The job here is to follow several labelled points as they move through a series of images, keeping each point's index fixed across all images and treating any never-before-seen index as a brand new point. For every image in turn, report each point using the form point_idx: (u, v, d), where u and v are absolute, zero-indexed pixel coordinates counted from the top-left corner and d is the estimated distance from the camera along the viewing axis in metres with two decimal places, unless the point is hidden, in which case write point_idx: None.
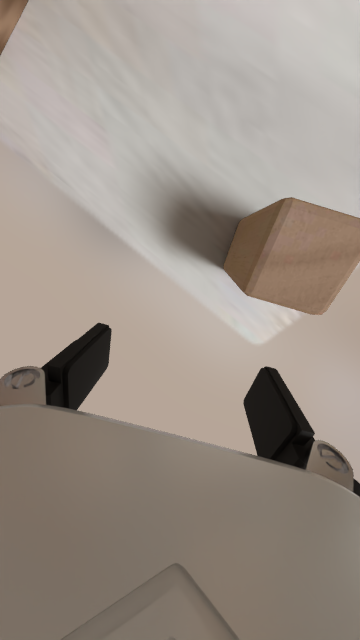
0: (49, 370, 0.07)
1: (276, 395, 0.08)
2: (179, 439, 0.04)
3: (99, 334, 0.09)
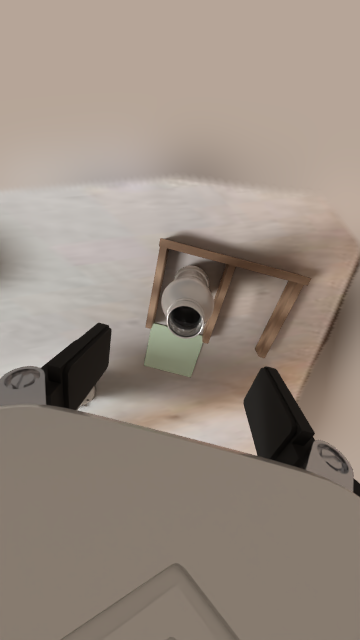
0: (49, 370, 0.07)
1: (276, 395, 0.08)
2: (179, 439, 0.04)
3: (99, 334, 0.09)
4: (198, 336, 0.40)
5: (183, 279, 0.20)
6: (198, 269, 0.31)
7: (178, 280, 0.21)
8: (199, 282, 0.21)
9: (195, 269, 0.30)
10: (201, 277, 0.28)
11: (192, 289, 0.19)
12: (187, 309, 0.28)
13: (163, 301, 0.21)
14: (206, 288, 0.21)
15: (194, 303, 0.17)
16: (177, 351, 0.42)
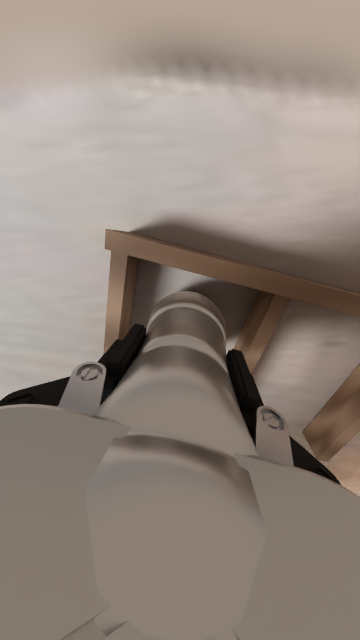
0: (108, 365, 0.08)
1: (235, 371, 0.09)
2: None
3: (139, 333, 0.10)
4: None
5: (105, 519, 0.03)
6: (203, 304, 0.13)
7: None
8: (226, 537, 0.03)
9: (196, 307, 0.12)
10: (212, 336, 0.10)
11: None
12: None
13: None
14: None
15: None
16: None
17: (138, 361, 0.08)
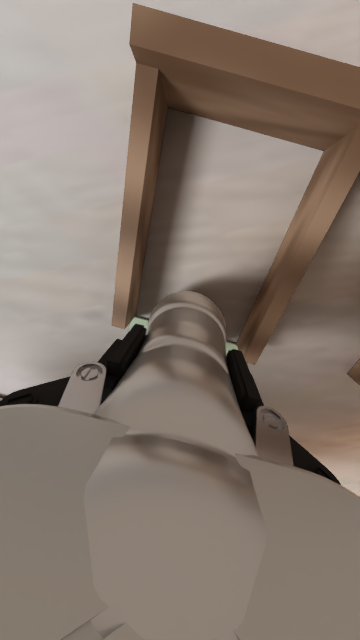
0: (108, 365, 0.08)
1: (235, 371, 0.09)
2: None
3: (139, 334, 0.10)
4: (228, 346, 0.19)
5: (104, 518, 0.03)
6: (203, 304, 0.13)
7: None
8: (226, 536, 0.03)
9: (196, 307, 0.12)
10: (212, 336, 0.10)
11: None
12: None
13: None
14: None
15: None
16: None
17: (138, 361, 0.08)
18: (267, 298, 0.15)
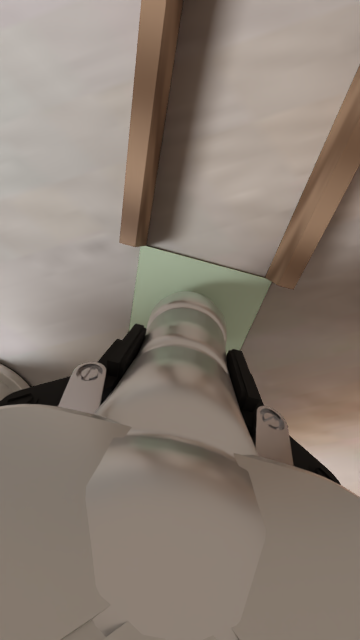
0: (108, 365, 0.08)
1: (235, 371, 0.09)
2: None
3: (139, 334, 0.10)
4: (256, 280, 0.16)
5: (104, 519, 0.03)
6: (203, 304, 0.13)
7: None
8: (225, 537, 0.03)
9: (196, 307, 0.12)
10: (212, 336, 0.10)
11: None
12: None
13: None
14: None
15: None
16: None
17: (138, 361, 0.08)
18: (313, 197, 0.12)
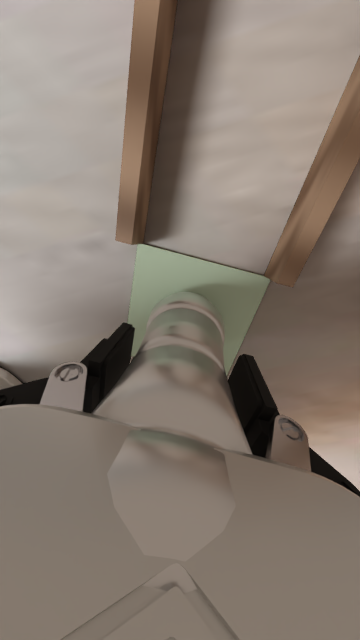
0: (90, 365, 0.07)
1: (248, 378, 0.09)
2: None
3: (126, 333, 0.10)
4: (254, 278, 0.16)
5: None
6: (201, 305, 0.13)
7: None
8: (214, 519, 0.03)
9: (194, 307, 0.12)
10: (210, 336, 0.10)
11: None
12: None
13: None
14: None
15: None
16: None
17: (137, 360, 0.08)
18: (312, 193, 0.12)
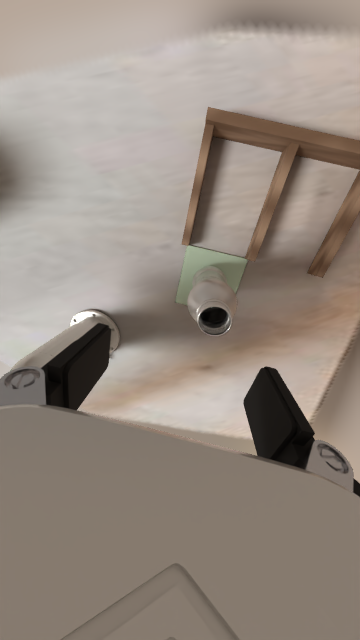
0: (49, 370, 0.07)
1: (276, 395, 0.08)
2: (179, 439, 0.04)
3: (99, 334, 0.09)
4: (240, 259, 0.34)
5: (209, 281, 0.22)
6: (217, 269, 0.32)
7: (204, 282, 0.22)
8: (224, 283, 0.22)
9: (214, 270, 0.31)
10: (221, 277, 0.29)
11: (218, 290, 0.21)
12: (208, 308, 0.29)
13: (190, 302, 0.22)
14: (230, 289, 0.22)
15: (222, 304, 0.19)
16: None
17: (200, 279, 0.27)
18: (259, 224, 0.30)
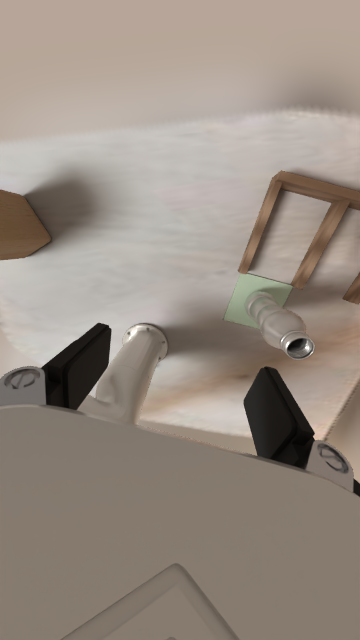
0: (49, 370, 0.07)
1: (276, 395, 0.08)
2: (179, 439, 0.04)
3: (99, 334, 0.09)
4: (286, 285, 0.40)
5: (285, 313, 0.27)
6: (270, 295, 0.37)
7: (281, 313, 0.27)
8: (297, 315, 0.27)
9: (269, 296, 0.37)
10: (278, 304, 0.35)
11: (296, 322, 0.26)
12: None
13: (268, 329, 0.28)
14: (302, 320, 0.27)
15: (306, 335, 0.24)
16: None
17: (266, 307, 0.32)
18: (309, 259, 0.36)
